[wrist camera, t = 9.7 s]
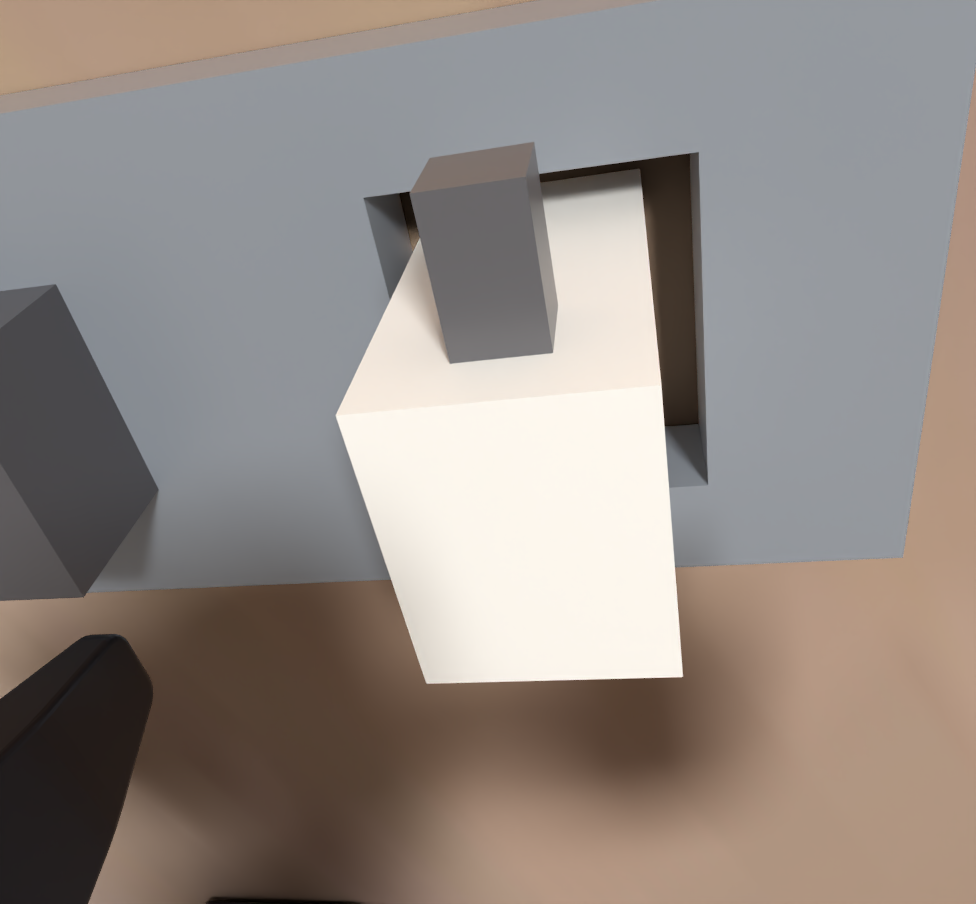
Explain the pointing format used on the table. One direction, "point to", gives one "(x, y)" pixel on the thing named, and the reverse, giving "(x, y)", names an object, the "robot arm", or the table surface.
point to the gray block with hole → (387, 250)
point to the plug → (521, 429)
